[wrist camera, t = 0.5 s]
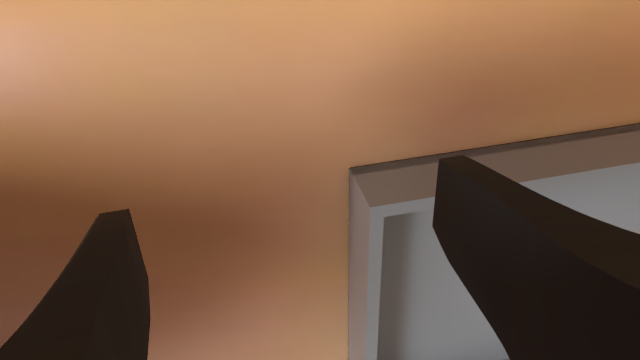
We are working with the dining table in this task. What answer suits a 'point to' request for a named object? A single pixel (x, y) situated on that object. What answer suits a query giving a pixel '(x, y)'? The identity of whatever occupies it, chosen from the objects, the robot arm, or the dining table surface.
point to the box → (428, 256)
